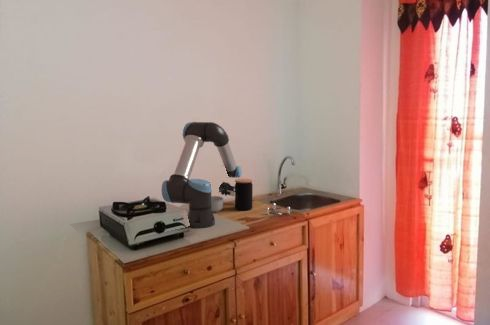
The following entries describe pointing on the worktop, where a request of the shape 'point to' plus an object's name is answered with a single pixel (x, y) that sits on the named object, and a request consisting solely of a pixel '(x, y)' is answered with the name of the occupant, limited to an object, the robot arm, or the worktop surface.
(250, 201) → the coffee jar
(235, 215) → the worktop surface
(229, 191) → the robot arm
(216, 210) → the teacup
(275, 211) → the pin ring
